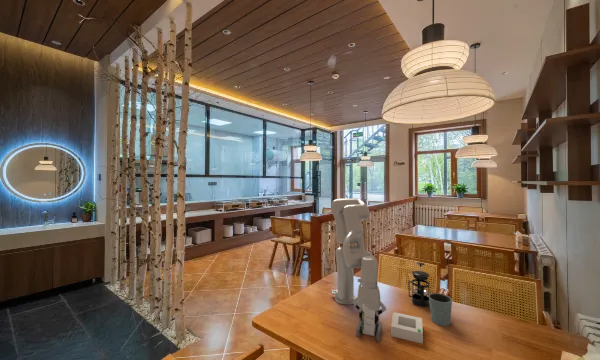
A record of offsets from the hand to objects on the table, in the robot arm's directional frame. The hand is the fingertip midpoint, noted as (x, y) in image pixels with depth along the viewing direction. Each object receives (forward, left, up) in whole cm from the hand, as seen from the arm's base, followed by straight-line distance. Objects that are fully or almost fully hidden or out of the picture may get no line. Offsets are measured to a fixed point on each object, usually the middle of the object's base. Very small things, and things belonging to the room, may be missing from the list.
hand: (368, 320), depth 116 cm
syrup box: (0, 0, -5) cm, 5 cm away
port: (+16, +8, -5) cm, 19 cm away
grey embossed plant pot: (+31, +24, -6) cm, 40 cm away
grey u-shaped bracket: (0, 0, -5) cm, 5 cm away
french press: (+22, +40, -6) cm, 46 cm away
